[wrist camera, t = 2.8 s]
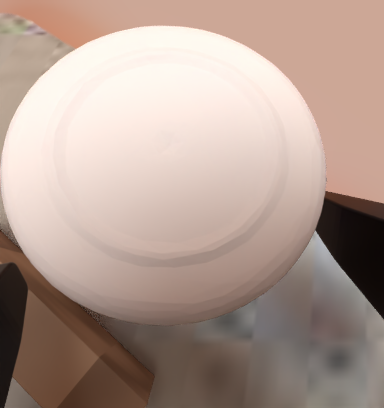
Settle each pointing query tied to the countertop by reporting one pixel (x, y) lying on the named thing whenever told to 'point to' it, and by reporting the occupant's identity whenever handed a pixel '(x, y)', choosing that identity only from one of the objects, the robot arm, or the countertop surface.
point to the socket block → (71, 350)
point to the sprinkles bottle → (163, 175)
